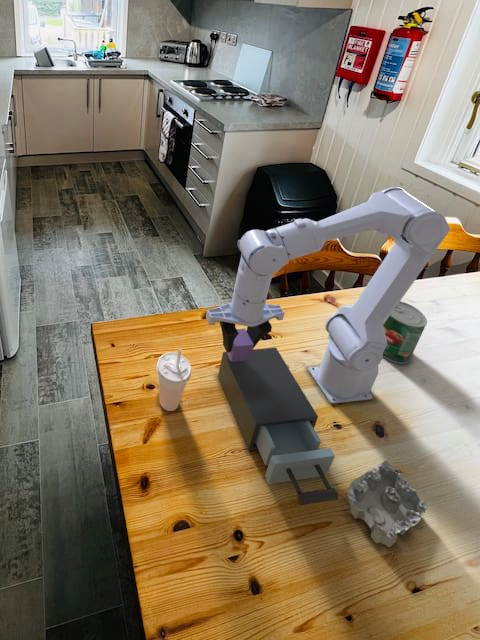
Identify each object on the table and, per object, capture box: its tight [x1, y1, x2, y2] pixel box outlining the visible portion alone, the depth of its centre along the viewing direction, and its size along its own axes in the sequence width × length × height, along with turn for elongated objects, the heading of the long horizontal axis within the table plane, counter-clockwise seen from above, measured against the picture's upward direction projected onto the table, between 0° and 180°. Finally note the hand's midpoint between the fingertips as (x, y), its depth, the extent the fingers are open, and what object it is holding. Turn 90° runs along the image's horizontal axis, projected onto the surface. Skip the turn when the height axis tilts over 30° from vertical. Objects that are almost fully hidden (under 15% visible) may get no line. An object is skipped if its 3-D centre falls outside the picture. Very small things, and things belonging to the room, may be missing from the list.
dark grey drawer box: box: [217, 347, 319, 451], centre depth 75 cm, size 15×12×7 cm
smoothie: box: [156, 348, 192, 412], centre depth 74 cm, size 6×6×14 cm
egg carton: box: [346, 460, 428, 548], centre depth 61 cm, size 11×8×4 cm
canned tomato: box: [383, 300, 428, 365], centre depth 89 cm, size 8×8×11 cm
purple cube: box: [222, 328, 255, 362], centre depth 77 cm, size 4×4×4 cm
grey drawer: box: [255, 421, 339, 506], centre depth 68 cm, size 18×10×5 cm, turn 8°
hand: (237, 347), depth 77 cm, fingers closed on purple cube, 4 cm apart
